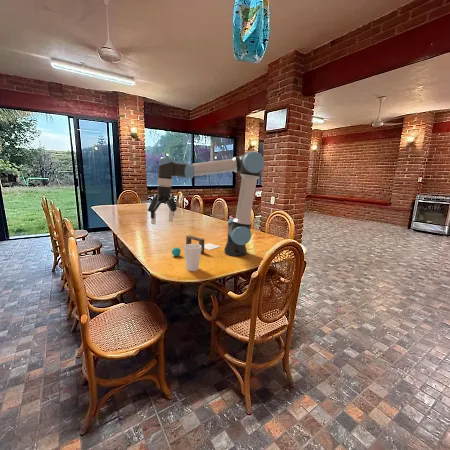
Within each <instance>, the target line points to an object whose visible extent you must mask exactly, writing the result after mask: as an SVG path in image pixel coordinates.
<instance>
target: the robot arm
mask: <svg viewBox="0 0 450 450" xmlns="http://www.w3.org/2000/svg"><path fill="white" fill-rule="evenodd" d="M158 162H159V163H158V174H157V175H158V177H157V190H156V191H157V194H155V193H154V194H152V200H151V202H150V203H149V206H148V209H147V211H148V212H150V218H151V219H150V224H151V225H157V224H156V222H157V210H158V208H159V206H161V204H163V203H165V204H166V205H167V207H168V208H169V213H168V222H170V223H174V216H175V212H176V211H177V210H178V207H177V205H176V201H175V195H174V194H172V185H173V183H172V181H173V179H172V178H173V177H179V178H186V179H193V178H194V177H197V176H208V175H213V174H214V175H215V174H222V173H231V172H234V173H240V174H239V175H240V176H241V181H240V189H239V194H238V199H237V200H238V201H237V205H236V212H235V217H234V218H229V219H228V220H227V241H226V243H225V247H224V251H223V253H224V254H225V255H227V256H232V257H243V256H246V255H247V253H248V249H247V246H246V244H248V243H249V242H250V241H251V240H252V239H251V238H252V232H251V229H252V221H251V220H250V219H251V214H252V209H253V203H254V199H255V198H254V197H255V193H256V184H257V181H258V179H260V177H261V173H262V170H263V169H264V166H265V158H264V156H263V155H262V154H261V153H260V152H258V151H252V150H251V151H248V152H247V153H245V154H243V155H239V156H234V157H232V158H230V159H220V160H219V159H218V160H213V161H205V162H196V163H179V162H174V159H173V158H169V157H160V158H159V159H158Z"/></svg>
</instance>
